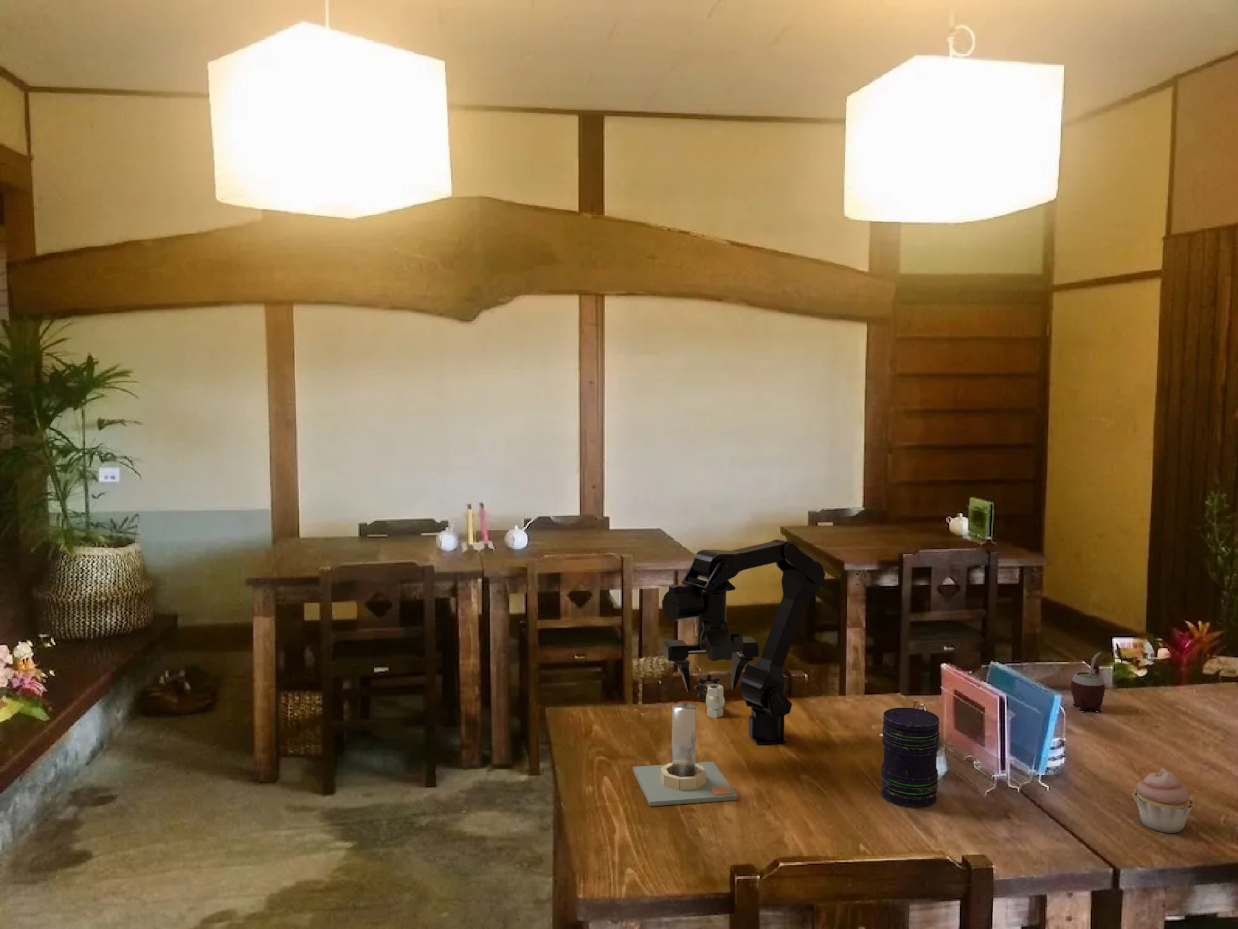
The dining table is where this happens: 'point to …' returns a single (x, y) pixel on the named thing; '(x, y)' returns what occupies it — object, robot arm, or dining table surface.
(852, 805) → the dining table surface
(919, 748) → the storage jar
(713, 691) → the valve
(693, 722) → the silver metal cylinder
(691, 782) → the socket board
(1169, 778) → the cupcake
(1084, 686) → the mate gourd
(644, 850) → the dining table surface
